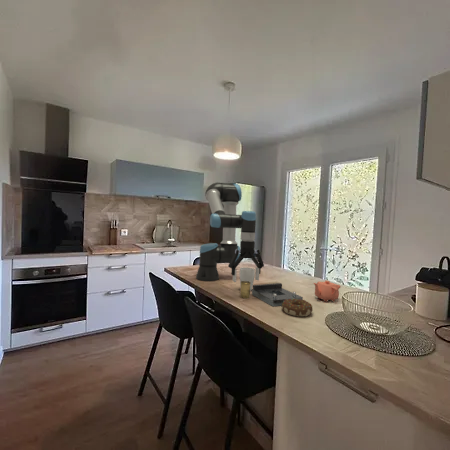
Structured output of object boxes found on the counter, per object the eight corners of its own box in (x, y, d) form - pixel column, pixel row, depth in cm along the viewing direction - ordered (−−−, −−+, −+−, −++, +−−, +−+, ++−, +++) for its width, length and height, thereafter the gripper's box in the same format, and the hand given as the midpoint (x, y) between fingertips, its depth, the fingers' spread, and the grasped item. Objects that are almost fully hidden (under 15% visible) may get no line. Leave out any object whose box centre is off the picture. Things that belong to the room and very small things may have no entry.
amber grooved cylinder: (238, 296, 142) (239, 281, 142) (246, 295, 144) (247, 280, 144) (242, 299, 138) (243, 283, 137) (251, 298, 140) (252, 283, 140)
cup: (253, 292, 151) (254, 271, 150) (237, 290, 153) (238, 269, 152) (254, 288, 160) (255, 268, 159) (239, 286, 162) (240, 267, 161)
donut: (318, 315, 120) (319, 304, 120) (297, 320, 113) (298, 308, 113) (295, 305, 132) (295, 295, 132) (274, 309, 125) (274, 298, 125)
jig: (251, 294, 146) (252, 284, 146) (279, 291, 154) (279, 282, 154) (272, 306, 128) (273, 295, 128) (302, 303, 136) (303, 292, 135)
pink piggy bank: (317, 294, 153) (318, 276, 152) (340, 298, 147) (341, 280, 146) (311, 300, 141) (312, 281, 140) (335, 305, 134) (337, 285, 134)
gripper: (229, 241, 131) (227, 283, 132) (271, 241, 142) (269, 280, 142) (223, 239, 138) (221, 280, 139) (263, 240, 149) (262, 277, 149)
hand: (245, 280), depth 141 cm, fingers open, 13 cm apart
